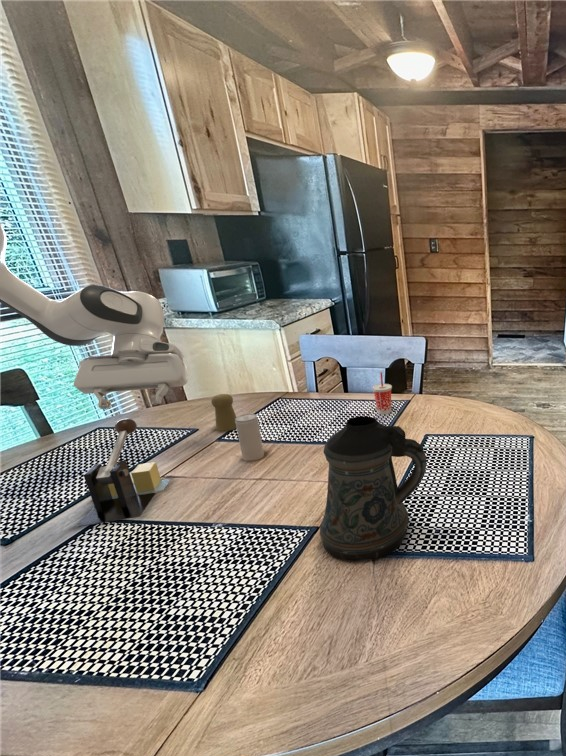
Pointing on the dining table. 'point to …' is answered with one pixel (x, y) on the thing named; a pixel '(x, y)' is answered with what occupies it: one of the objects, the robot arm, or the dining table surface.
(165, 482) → the butter dish
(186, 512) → the dining table surface
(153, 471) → the butter right
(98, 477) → the lever
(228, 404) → the cork
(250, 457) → the beverage can
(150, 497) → the cutter
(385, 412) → the beverage cup
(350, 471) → the beer stein
